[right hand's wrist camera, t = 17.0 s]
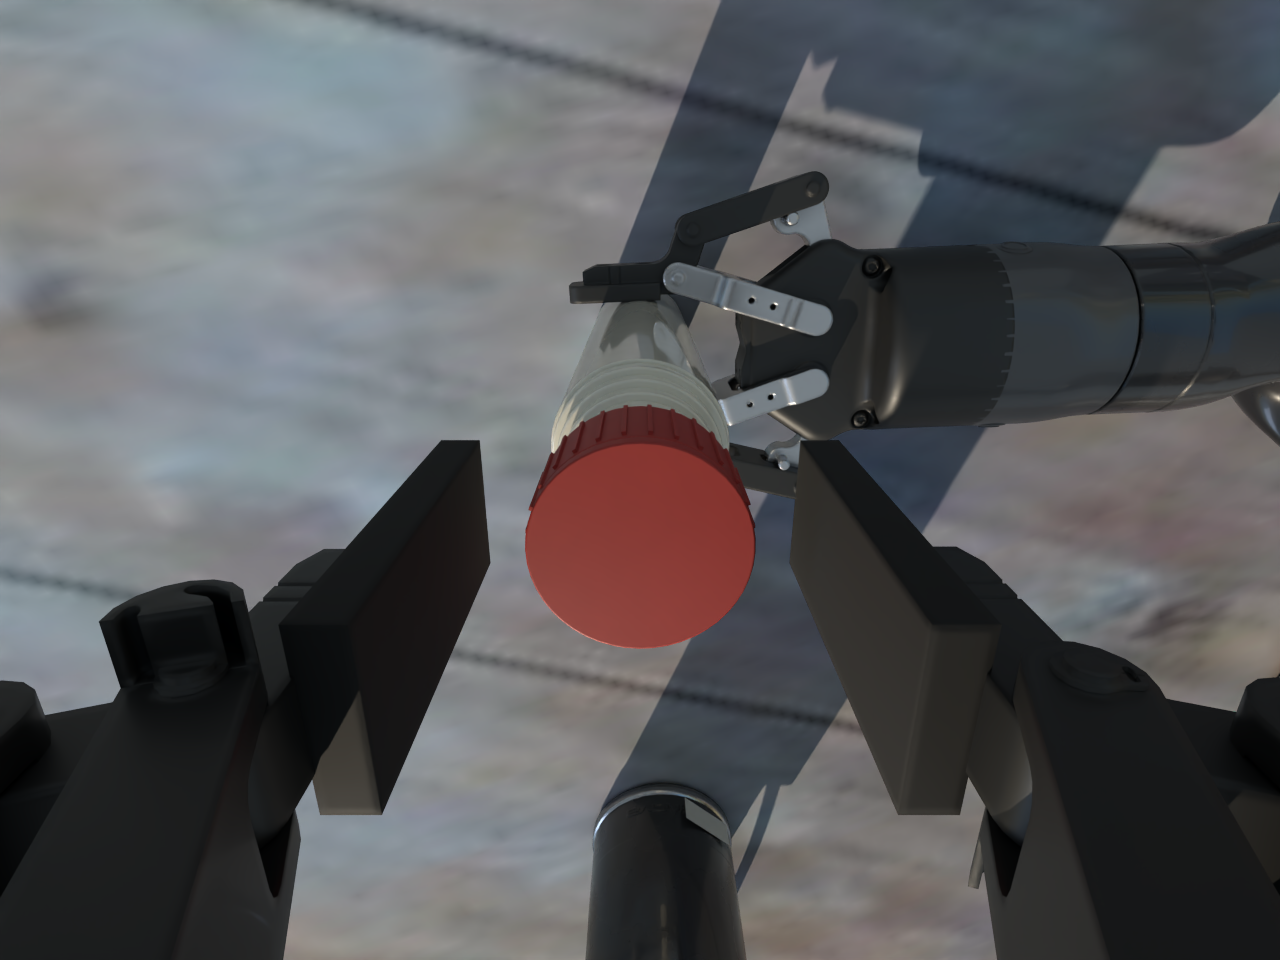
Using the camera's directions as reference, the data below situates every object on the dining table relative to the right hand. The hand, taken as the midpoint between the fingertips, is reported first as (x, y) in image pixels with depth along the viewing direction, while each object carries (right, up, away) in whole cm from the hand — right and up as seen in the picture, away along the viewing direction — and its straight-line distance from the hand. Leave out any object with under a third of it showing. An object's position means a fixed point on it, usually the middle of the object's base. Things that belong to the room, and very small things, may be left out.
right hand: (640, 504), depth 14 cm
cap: (0, -1, -2) cm, 2 cm away
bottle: (0, +8, +21) cm, 23 cm away
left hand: (-3, +6, +16) cm, 17 cm away
